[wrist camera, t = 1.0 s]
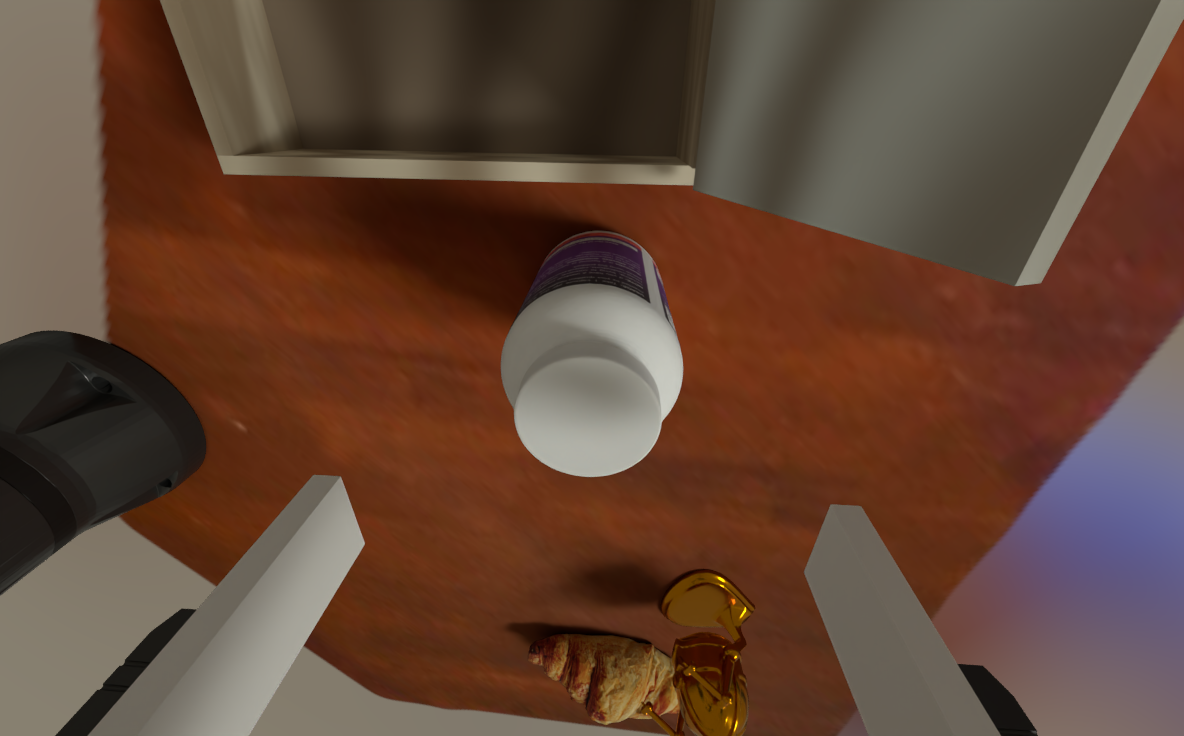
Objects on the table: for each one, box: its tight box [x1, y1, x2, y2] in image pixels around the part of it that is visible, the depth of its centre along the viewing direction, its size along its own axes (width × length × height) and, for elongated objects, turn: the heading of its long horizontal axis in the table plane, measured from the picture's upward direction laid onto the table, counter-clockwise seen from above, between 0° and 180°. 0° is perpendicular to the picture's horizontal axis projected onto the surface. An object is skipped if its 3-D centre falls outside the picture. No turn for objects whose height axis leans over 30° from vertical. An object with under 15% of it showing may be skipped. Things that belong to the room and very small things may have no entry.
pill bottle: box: [501, 231, 683, 477], centre depth 23 cm, size 8×8×14 cm
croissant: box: [528, 634, 680, 725], centre depth 48 cm, size 21×10×8 cm, turn 65°
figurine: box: [641, 569, 755, 736], centre depth 39 cm, size 9×11×12 cm
